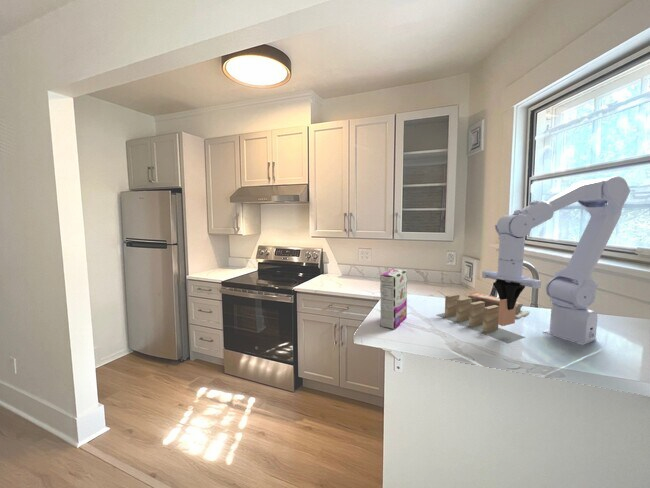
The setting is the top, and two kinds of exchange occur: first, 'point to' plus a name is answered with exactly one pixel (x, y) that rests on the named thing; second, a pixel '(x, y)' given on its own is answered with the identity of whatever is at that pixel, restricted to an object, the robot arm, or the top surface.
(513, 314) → the domino
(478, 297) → the packaged product
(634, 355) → the top surface
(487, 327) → the light brown flat block
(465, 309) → the domino
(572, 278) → the robot arm
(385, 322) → the candy bar box
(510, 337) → the slate mat
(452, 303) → the domino
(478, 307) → the domino
